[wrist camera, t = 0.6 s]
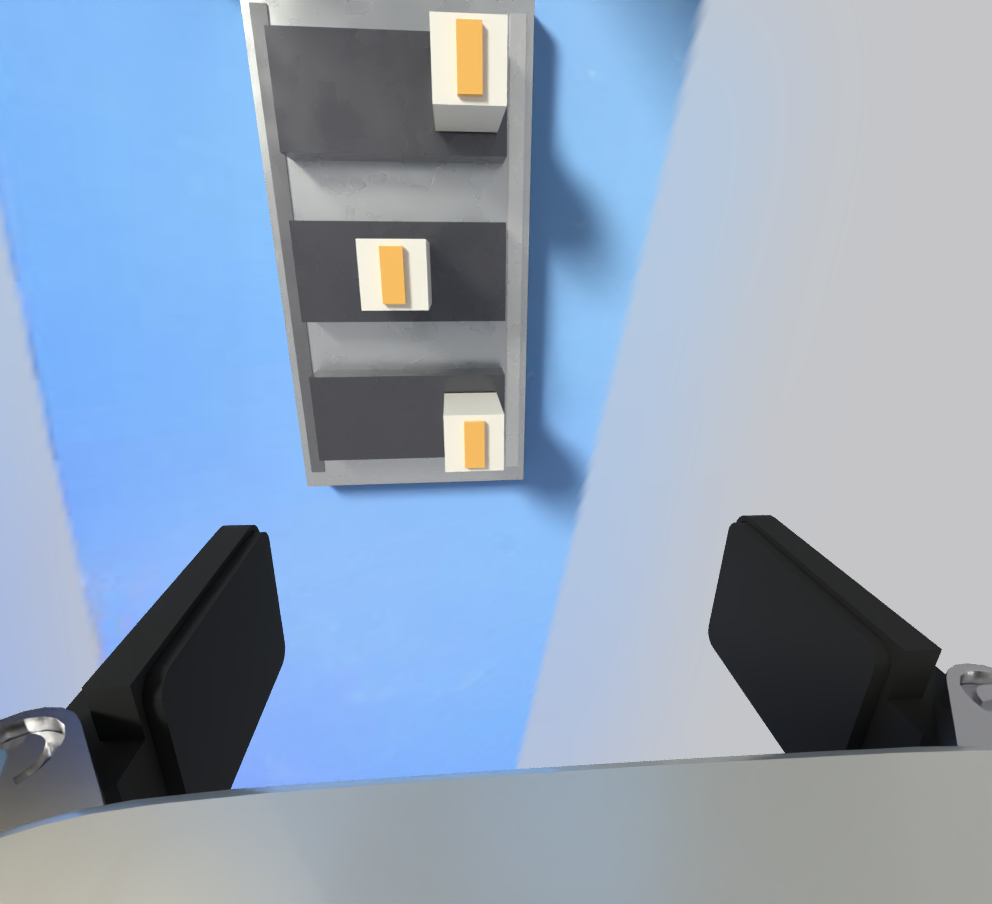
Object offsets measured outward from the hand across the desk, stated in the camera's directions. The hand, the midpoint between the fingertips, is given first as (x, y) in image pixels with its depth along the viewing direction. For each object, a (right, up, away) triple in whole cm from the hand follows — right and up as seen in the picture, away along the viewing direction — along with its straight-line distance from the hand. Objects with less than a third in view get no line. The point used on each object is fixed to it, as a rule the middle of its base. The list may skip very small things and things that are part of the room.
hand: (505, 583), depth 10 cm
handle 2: (-2, +5, +19) cm, 20 cm away
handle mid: (-5, +12, +16) cm, 21 cm away
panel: (-5, +14, +20) cm, 25 cm away
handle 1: (-2, +20, +14) cm, 24 cm away
